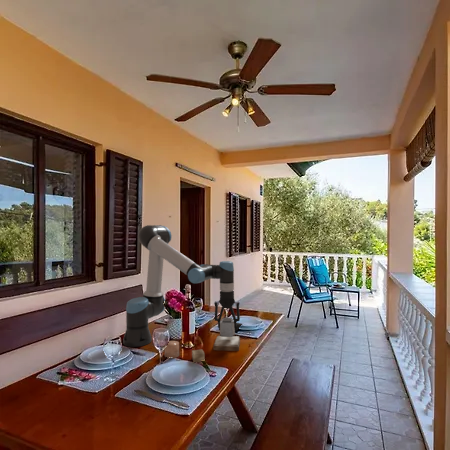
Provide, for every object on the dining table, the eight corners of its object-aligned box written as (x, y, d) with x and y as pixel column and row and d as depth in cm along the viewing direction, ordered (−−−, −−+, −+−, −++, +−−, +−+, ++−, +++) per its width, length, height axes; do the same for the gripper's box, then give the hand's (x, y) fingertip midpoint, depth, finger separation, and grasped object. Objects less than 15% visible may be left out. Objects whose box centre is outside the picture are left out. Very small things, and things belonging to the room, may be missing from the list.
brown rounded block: (162, 358, 150) (162, 345, 150) (167, 352, 157) (167, 340, 157) (177, 358, 149) (176, 346, 149) (180, 353, 156) (180, 341, 156)
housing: (222, 332, 169) (222, 317, 169) (233, 332, 168) (233, 317, 168) (221, 336, 162) (220, 321, 162) (232, 337, 161) (232, 321, 161)
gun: (216, 337, 177) (219, 319, 180) (234, 339, 192) (237, 322, 195) (223, 338, 174) (226, 320, 177) (240, 340, 190) (243, 323, 193)
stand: (213, 350, 159) (213, 344, 159) (216, 340, 172) (216, 335, 172) (238, 350, 158) (238, 345, 158) (240, 341, 171) (240, 336, 171)
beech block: (194, 363, 144) (193, 354, 144) (192, 358, 149) (192, 350, 149) (204, 361, 146) (204, 353, 146) (202, 357, 151) (202, 349, 151)
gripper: (208, 291, 163) (208, 335, 162) (244, 292, 161) (244, 336, 160) (210, 288, 170) (210, 331, 170) (245, 289, 168) (245, 332, 168)
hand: (227, 333), depth 165 cm, fingers closed on housing, 6 cm apart
